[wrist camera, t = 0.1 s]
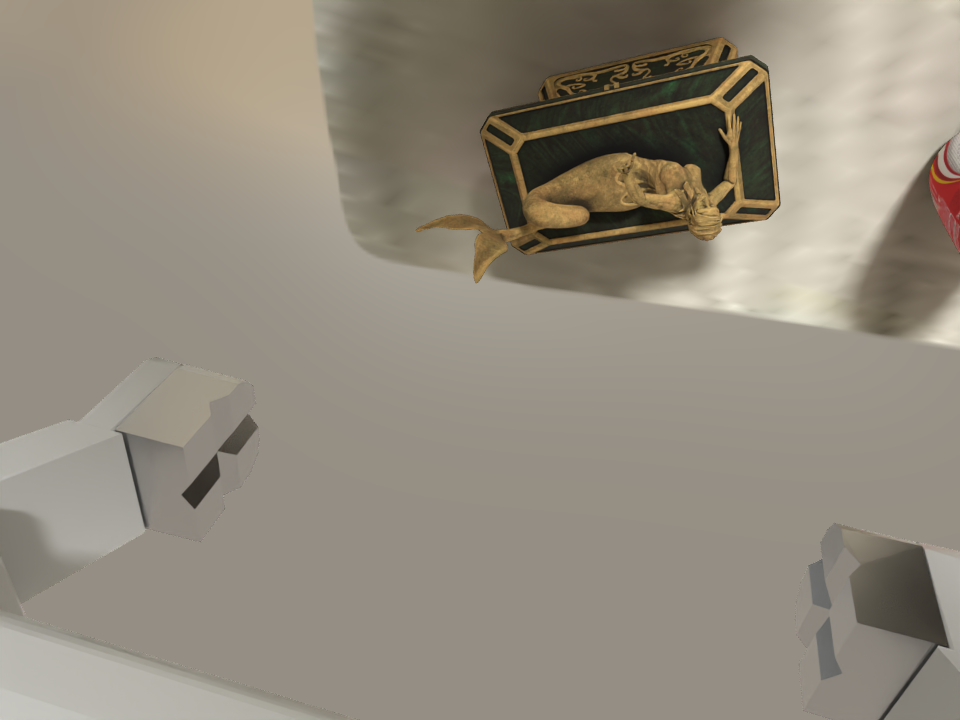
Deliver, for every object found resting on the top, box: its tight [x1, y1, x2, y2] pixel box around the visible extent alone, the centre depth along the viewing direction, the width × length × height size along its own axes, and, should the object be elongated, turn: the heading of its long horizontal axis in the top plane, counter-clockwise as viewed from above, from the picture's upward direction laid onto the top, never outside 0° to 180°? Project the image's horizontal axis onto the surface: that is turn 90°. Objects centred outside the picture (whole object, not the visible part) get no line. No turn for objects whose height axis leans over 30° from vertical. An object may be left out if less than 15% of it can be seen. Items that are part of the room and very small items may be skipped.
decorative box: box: [416, 38, 780, 283], centre depth 48 cm, size 20×10×20 cm, turn 106°
